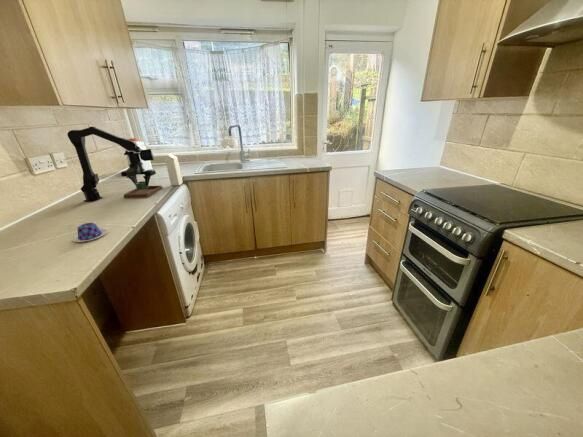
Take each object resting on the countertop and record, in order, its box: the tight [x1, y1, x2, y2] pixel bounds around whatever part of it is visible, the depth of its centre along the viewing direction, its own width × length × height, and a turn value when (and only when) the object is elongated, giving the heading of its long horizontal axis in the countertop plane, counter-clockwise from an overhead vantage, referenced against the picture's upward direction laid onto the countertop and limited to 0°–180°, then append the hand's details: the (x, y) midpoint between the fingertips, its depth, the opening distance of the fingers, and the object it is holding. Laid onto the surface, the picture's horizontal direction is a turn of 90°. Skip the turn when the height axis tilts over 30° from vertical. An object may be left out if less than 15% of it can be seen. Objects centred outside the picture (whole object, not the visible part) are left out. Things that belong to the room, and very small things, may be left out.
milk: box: [164, 152, 184, 187], centre depth 170 cm, size 6×6×22 cm
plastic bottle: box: [124, 137, 154, 171], centre depth 213 cm, size 15×15×28 cm
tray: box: [122, 185, 163, 199], centre depth 157 cm, size 15×19×2 cm
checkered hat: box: [71, 222, 108, 243], centre depth 101 cm, size 12×12×5 cm
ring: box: [134, 180, 150, 189], centre depth 155 cm, size 6×6×4 cm
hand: (142, 186), depth 155 cm, fingers closed on ring, 6 cm apart
